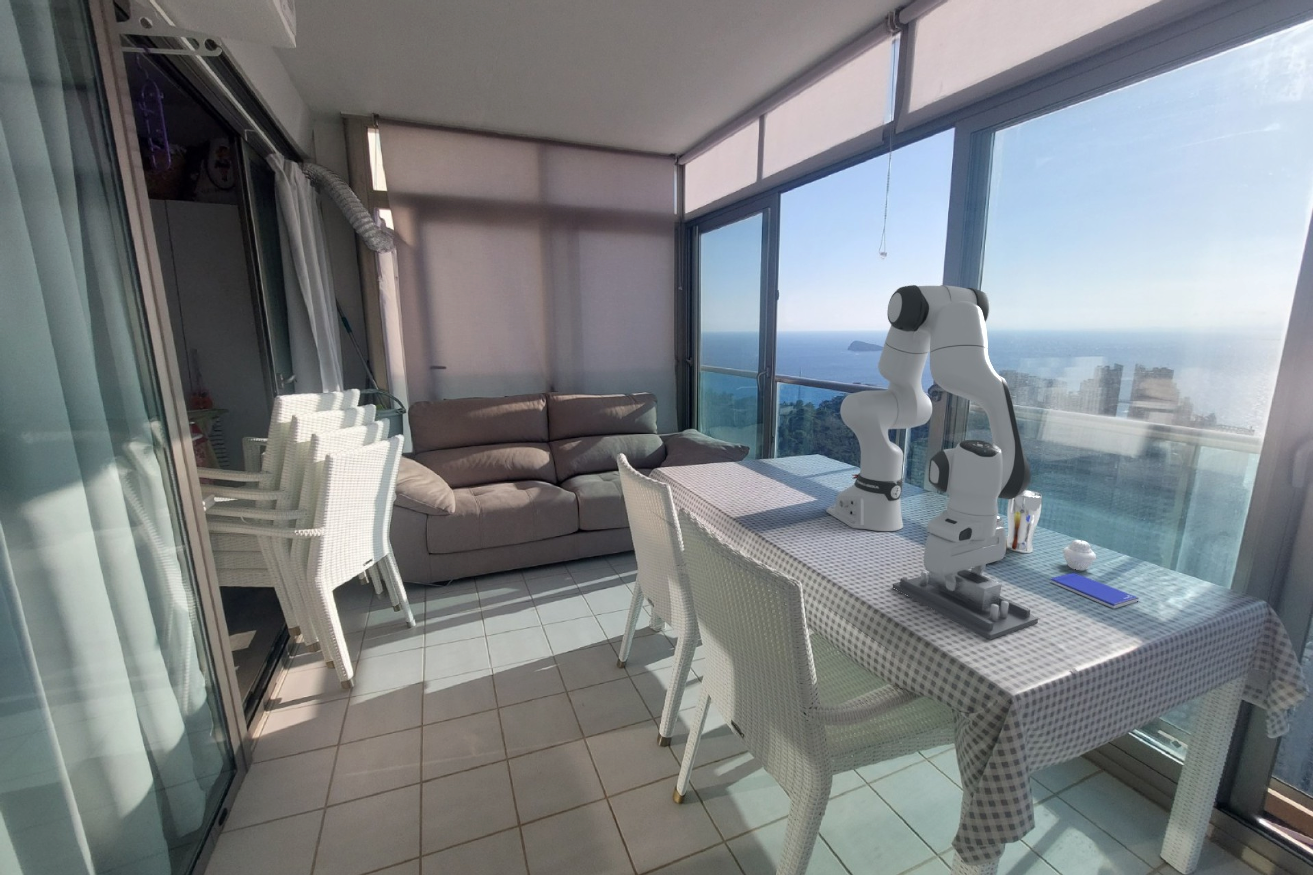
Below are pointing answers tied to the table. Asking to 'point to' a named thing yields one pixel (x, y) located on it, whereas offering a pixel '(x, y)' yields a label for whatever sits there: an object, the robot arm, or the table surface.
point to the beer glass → (1023, 520)
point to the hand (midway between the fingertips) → (962, 585)
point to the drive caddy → (971, 588)
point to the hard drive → (1094, 590)
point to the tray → (968, 609)
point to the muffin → (1079, 555)
